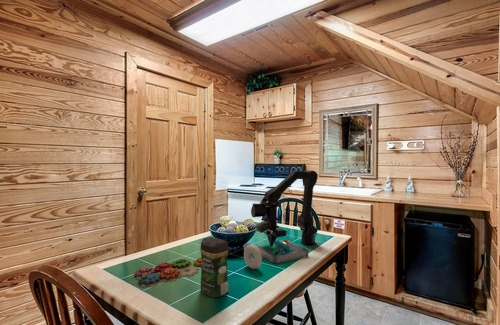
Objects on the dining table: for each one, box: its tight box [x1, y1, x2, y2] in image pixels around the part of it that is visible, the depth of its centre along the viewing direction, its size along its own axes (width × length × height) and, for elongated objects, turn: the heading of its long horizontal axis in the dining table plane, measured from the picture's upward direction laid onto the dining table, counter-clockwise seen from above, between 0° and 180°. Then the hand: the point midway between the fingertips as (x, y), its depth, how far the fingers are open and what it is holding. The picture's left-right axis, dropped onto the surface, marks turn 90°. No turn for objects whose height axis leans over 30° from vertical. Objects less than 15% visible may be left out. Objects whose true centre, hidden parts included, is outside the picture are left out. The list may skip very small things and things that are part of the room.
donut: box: [243, 243, 263, 270], centre depth 110 cm, size 10×4×10 cm, turn 40°
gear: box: [272, 240, 294, 255], centre depth 124 cm, size 11×6×10 cm
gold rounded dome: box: [279, 238, 292, 245], centre depth 139 cm, size 6×6×3 cm
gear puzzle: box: [133, 257, 202, 288], centre depth 108 cm, size 31×16×4 cm, turn 124°
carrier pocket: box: [257, 240, 309, 265], centre depth 126 cm, size 19×16×3 cm
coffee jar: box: [200, 235, 229, 299], centre depth 91 cm, size 10×8×19 cm
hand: (271, 246), depth 134 cm, fingers closed
